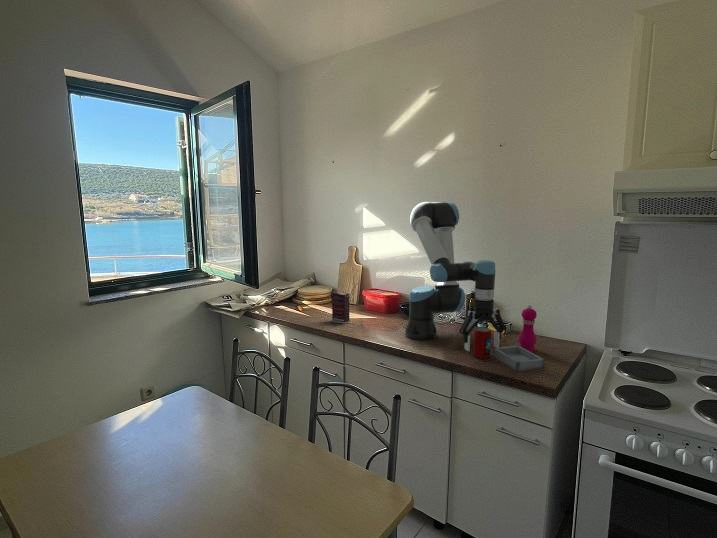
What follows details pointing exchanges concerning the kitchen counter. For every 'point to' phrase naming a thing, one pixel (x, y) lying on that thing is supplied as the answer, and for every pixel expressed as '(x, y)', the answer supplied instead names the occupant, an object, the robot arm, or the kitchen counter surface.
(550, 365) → the kitchen counter surface
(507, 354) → the tray
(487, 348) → the beverage can
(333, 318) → the supplement box
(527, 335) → the pepper mill
